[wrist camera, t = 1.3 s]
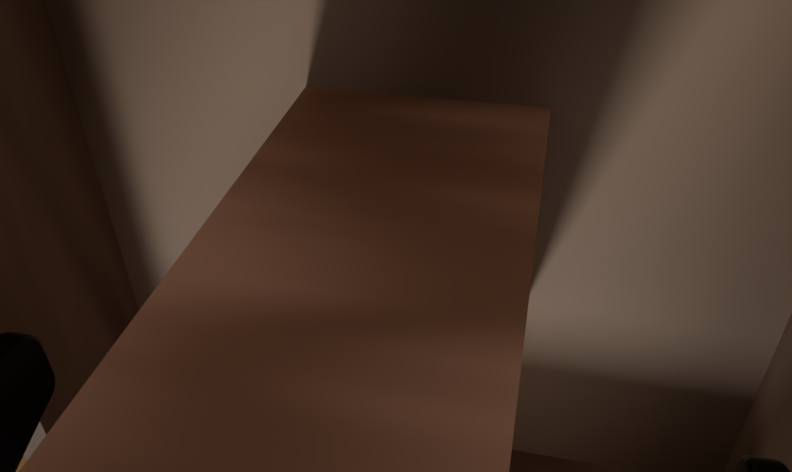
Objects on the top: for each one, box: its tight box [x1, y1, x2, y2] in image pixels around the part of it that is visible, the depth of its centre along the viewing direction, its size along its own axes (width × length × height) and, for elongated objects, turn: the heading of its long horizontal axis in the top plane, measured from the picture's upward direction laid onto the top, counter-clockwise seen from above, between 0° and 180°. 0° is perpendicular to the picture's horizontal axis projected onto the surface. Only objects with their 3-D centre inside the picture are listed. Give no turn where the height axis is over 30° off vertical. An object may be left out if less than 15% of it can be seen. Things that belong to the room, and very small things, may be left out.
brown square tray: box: [0, 0, 792, 472], centre depth 12 cm, size 15×15×4 cm
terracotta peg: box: [19, 86, 551, 472], centre depth 9 cm, size 4×4×10 cm
